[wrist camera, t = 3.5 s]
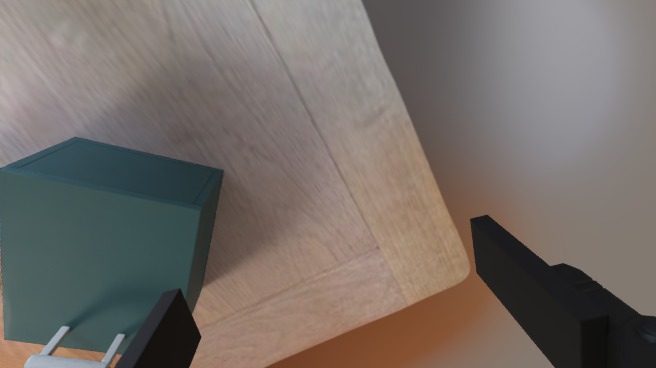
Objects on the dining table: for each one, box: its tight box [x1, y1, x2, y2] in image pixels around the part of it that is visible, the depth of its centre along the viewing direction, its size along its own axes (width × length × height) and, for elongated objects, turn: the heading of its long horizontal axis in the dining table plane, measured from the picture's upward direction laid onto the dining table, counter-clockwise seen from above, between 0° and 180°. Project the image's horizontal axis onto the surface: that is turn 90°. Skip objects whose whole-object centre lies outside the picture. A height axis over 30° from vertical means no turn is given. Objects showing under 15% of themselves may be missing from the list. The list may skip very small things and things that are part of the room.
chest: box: [6, 137, 224, 314], centre depth 38 cm, size 17×16×10 cm
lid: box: [0, 167, 203, 368], centre depth 30 cm, size 18×16×6 cm
